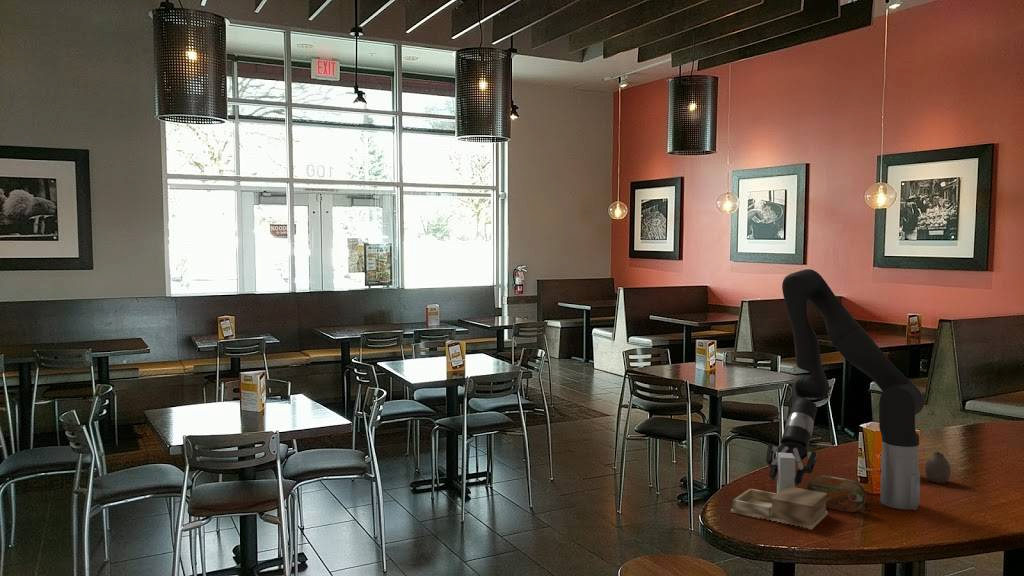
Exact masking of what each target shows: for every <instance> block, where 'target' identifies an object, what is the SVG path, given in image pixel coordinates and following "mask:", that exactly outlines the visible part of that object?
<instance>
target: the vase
mask: <svg viewBox="0 0 1024 576" xmlns="http://www.w3.org/2000/svg"><path fill="white" fill-rule="evenodd" d="M924 472H925V476H926V477H927V479H928V480H929V482H931V481H932V482H931V483H934V482H936V483H935V484H941V483H942V484H945V482H946V483H947V482H948V481H949V480H950V478H951V474H952V468H951V464H950V462H949V460H948V459H946V457H945V456H944V454H943V452H938V451H934V452H933V454H932V455H931V456H930V457H929V458H928V459H927V461H926V462H925V466H924Z"/></svg>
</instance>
